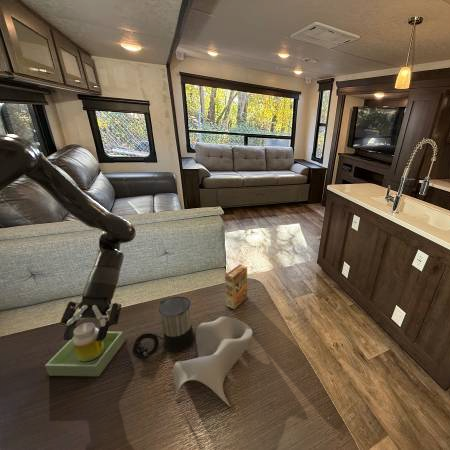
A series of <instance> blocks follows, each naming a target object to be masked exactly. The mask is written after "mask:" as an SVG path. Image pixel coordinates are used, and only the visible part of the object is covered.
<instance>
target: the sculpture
mask: <svg viewBox="0 0 450 450" xmlns="http://www.w3.org/2000/svg"><path fill="white" fill-rule="evenodd" d="M253 333H254V331H253V330H252V328H251V327H250V325H248V324H247V323H246V322H244V321H242V320H240V319H237V318H233V317H230V316H219V317H218V318H216V319H215V320H214V321H208V322H201V323H200V324H199V325H198V326H197V328H196V331H195V344H196V349H197V357H195V358H190V359H187V360H178V361H176V362H175V363H174V365H173V369H172V373H173V383H174V389H175V393H176V397H177V398H179V391H180V387H181V386H182V385H183V384H184V383H186V382H188V381H197V382H200V383H202V384H204V385H205V386H206V387H208V388H209V389H211V390H212V391H213V393H215V394H216V395H217V396H218V397H219V398H220V399H221V400H222V401H223V402H224V403H225V404H226V405H227V406H229V407H231V408H232V406H231V404H230V403H229V401H228V399H227V397H226V395H225V391H224V383H225V382H224V381H225V379H226V377H227V375H228V373H229V372H230V370H231V369H232V368H233V367H234V366H235V364H236V363H237V362H238V361H239V359H240V358H241V357H242V355H243V354H244V353H245V351H246V349H247V347H248V346H249V344H250V342H251V339H252V336H253ZM177 400H178V402H180V401H179V399H177ZM232 409H233V408H232Z"/></svg>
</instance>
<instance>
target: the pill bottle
mask: <svg viewBox="0 0 450 450" xmlns="http://www.w3.org/2000/svg"><path fill="white" fill-rule="evenodd" d="M76 326H77V327H76V328H75V329H74V331H73V333H74V335H73V337H74V338H73V344H74V347H75V350H76V353H77V355H78V358H79V361H80V362H81V363H82V364H90V363H93V362H95V361H97V360H99V359H100V358H101V356H102V355H103V354H104V353H105V346H104V343H103V341H96V338H97V335H98V331H99V328H98V327H96V325H95V323H94V322H93V321H92V322H91V321H88V322H83V323H81V324H79V325H76Z"/></svg>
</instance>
